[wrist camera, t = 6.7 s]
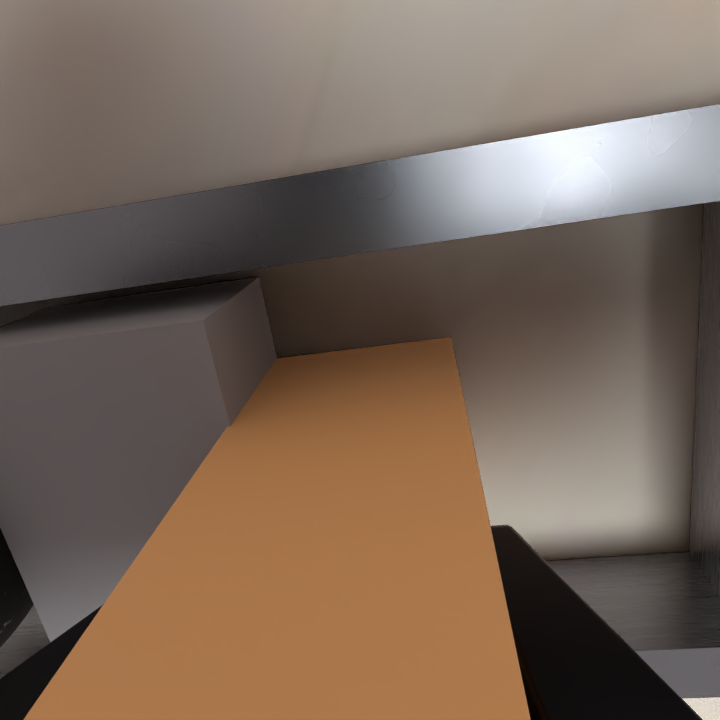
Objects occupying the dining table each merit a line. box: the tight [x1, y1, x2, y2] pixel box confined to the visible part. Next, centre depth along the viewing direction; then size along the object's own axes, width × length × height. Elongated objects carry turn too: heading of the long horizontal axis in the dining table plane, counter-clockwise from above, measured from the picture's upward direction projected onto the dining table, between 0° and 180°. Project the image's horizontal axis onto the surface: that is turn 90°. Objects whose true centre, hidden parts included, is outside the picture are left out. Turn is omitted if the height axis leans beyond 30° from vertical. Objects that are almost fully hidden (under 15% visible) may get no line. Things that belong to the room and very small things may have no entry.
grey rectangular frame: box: [0, 104, 720, 698], centre depth 11 cm, size 19×10×2 cm, turn 99°
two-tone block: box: [0, 277, 531, 720], centre depth 7 cm, size 8×7×10 cm
